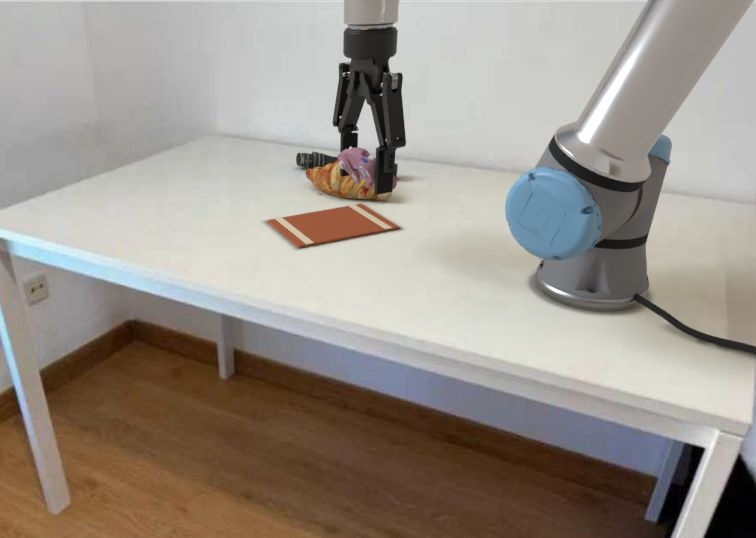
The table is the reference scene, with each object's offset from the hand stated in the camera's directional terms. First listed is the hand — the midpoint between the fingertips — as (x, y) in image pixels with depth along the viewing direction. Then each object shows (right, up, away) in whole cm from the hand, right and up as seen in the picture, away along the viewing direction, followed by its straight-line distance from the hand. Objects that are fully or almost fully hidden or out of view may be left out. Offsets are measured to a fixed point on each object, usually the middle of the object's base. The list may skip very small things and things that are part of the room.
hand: (365, 183), depth 107 cm
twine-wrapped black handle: (+1, +13, +46) cm, 48 cm away
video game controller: (0, 0, 0) cm, 0 cm away
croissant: (+1, +6, +35) cm, 35 cm away
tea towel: (-4, -3, +19) cm, 20 cm away
